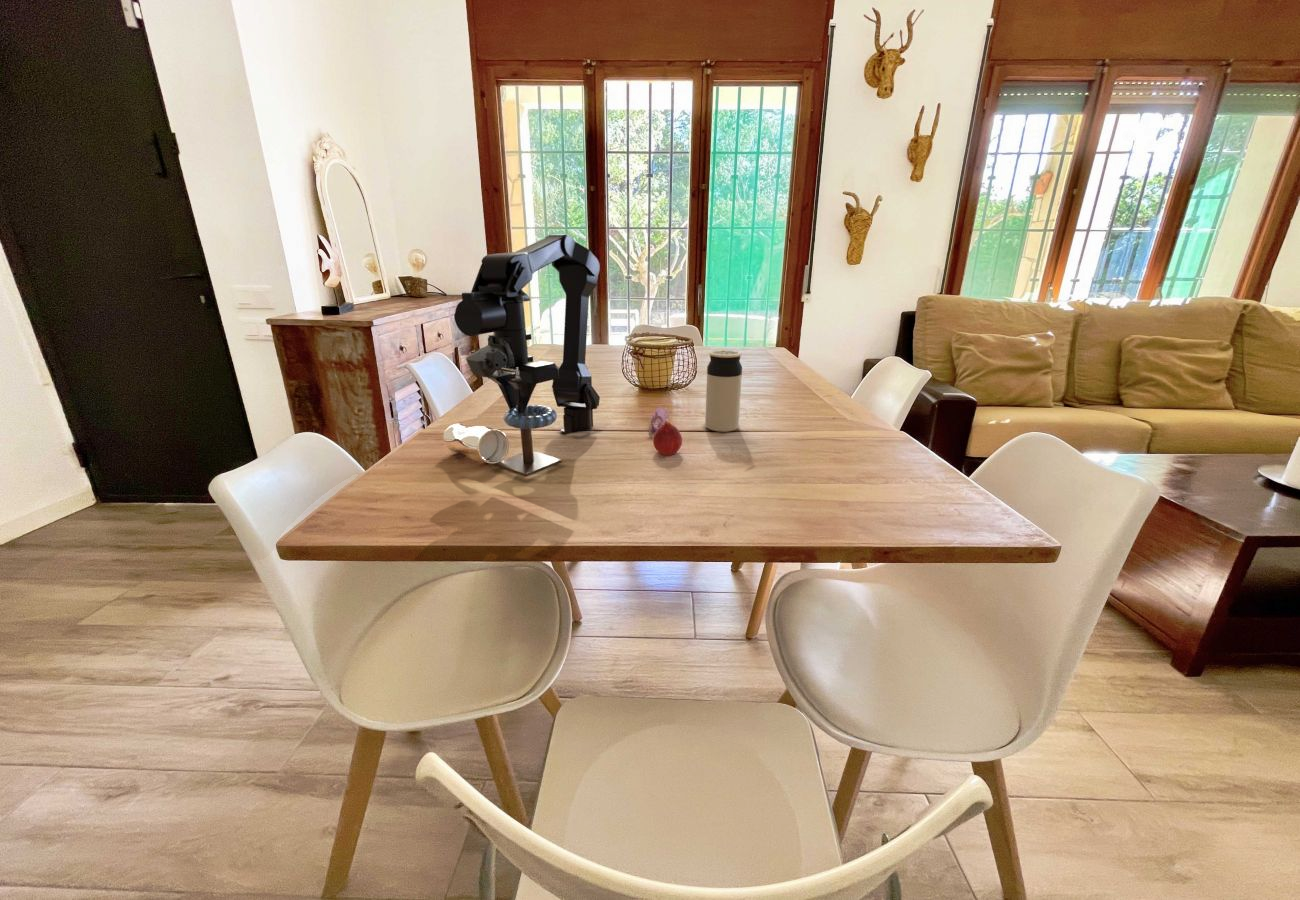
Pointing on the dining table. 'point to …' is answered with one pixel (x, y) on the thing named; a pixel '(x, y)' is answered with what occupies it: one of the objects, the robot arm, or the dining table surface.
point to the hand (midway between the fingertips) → (517, 412)
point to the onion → (667, 439)
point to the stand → (528, 458)
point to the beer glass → (477, 442)
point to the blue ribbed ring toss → (530, 417)
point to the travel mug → (723, 390)
